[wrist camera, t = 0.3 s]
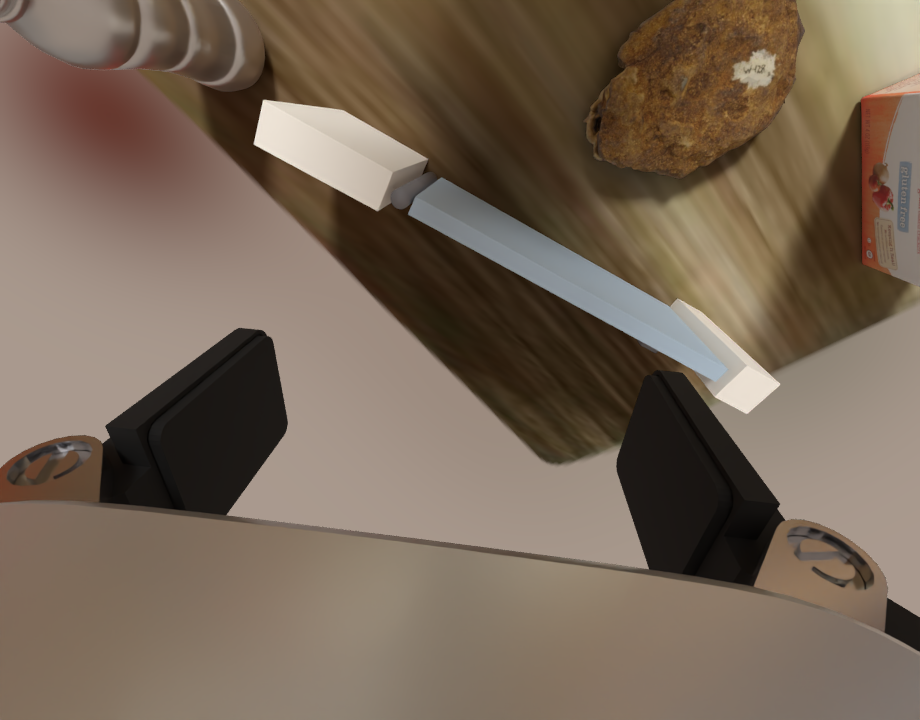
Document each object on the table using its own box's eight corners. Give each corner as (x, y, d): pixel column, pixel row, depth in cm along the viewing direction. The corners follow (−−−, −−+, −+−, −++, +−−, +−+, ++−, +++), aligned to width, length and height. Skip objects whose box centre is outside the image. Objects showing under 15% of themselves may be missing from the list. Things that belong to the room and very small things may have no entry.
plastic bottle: (255, 113, 35) (8, 95, 18) (181, 51, 33) (-173, -37, 16) (289, 39, 32) (38, -68, 15) (211, -33, 30) (-177, -249, 13)
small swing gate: (332, 143, 36) (252, 148, 24) (343, 106, 34) (264, 94, 23) (680, 336, 41) (746, 414, 30) (702, 312, 40) (780, 384, 28)
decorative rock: (622, 214, 37) (799, 88, 32) (638, 224, 33) (840, 84, 28) (554, 97, 32) (745, -70, 27) (563, 95, 29) (785, -98, 24)
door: (414, 199, 37) (378, 226, 26) (427, 169, 35) (394, 184, 25) (649, 329, 40) (699, 397, 30) (668, 306, 39) (728, 369, 29)
